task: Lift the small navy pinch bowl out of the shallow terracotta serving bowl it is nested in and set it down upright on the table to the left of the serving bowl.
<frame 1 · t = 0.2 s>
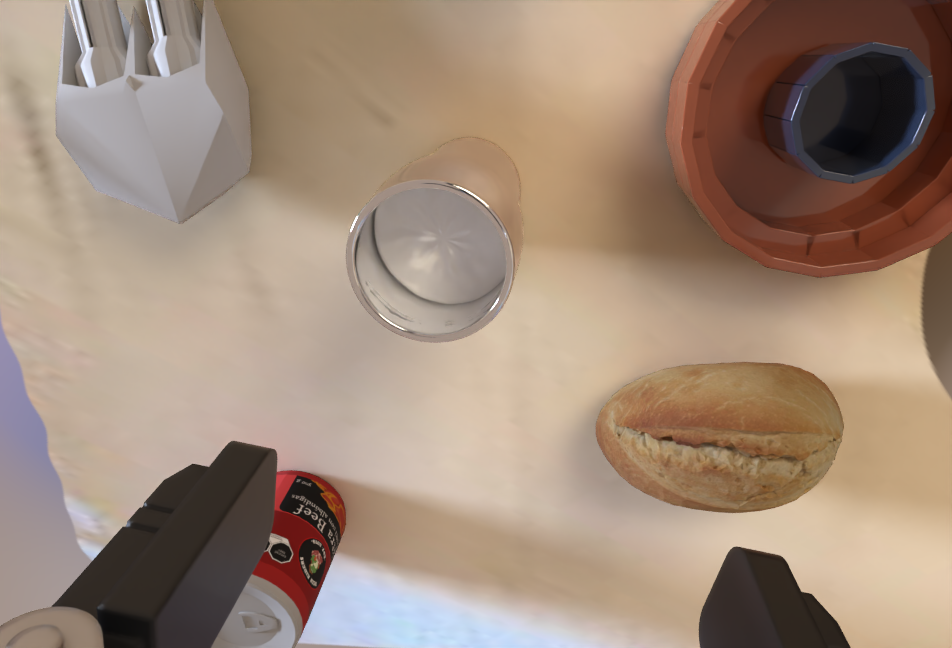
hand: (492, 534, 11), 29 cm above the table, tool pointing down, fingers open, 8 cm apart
serving bowl: (818, 107, 34), on the table
pinch bowl: (821, 108, 33), resting on serving bowl
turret: (163, 40, 36), on the table
canned food: (300, 505, 49), on the table
bread roll: (705, 400, 42), on the table
beer glass: (470, 188, 38), on the table
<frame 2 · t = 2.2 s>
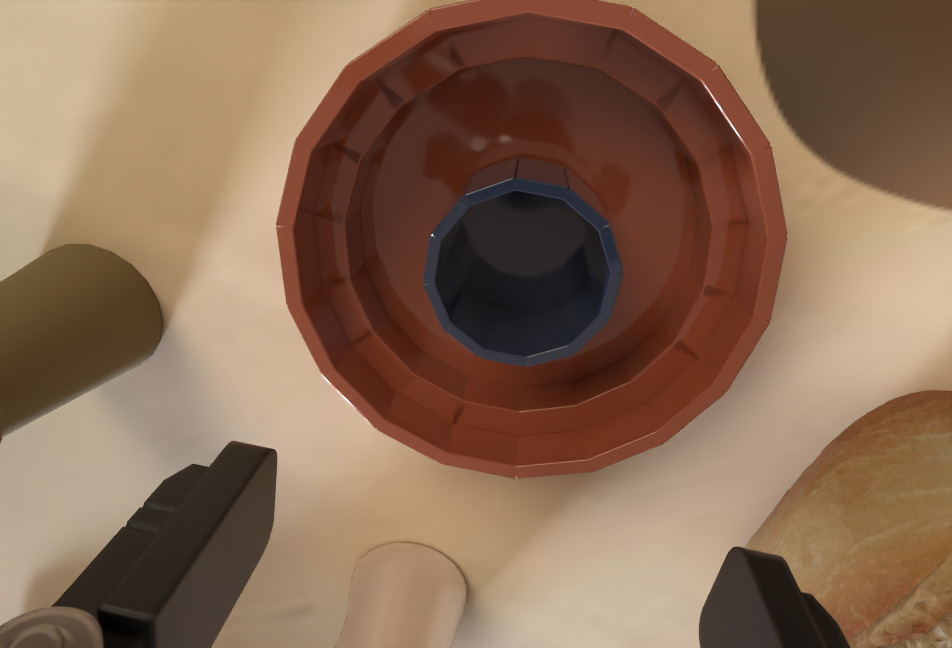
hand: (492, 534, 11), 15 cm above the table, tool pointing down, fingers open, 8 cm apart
serving bowl: (524, 235, 24), on the table
pinch bowl: (524, 239, 24), resting on serving bowl
cork: (99, 307, 28), on the table
bread roll: (837, 502, 28), on the table
beer glass: (410, 583, 33), on the table
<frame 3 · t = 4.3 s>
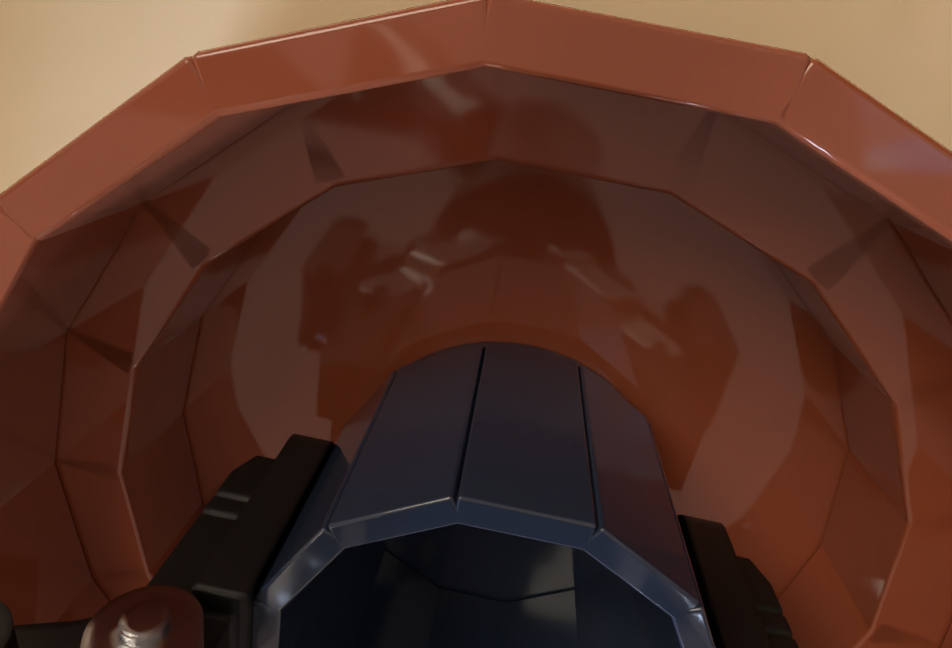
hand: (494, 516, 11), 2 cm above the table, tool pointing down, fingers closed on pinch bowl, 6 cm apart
serving bowl: (501, 461, 13), on the table
pinch bowl: (499, 476, 12), point 1 cm above the table, touching gripper, serving bowl
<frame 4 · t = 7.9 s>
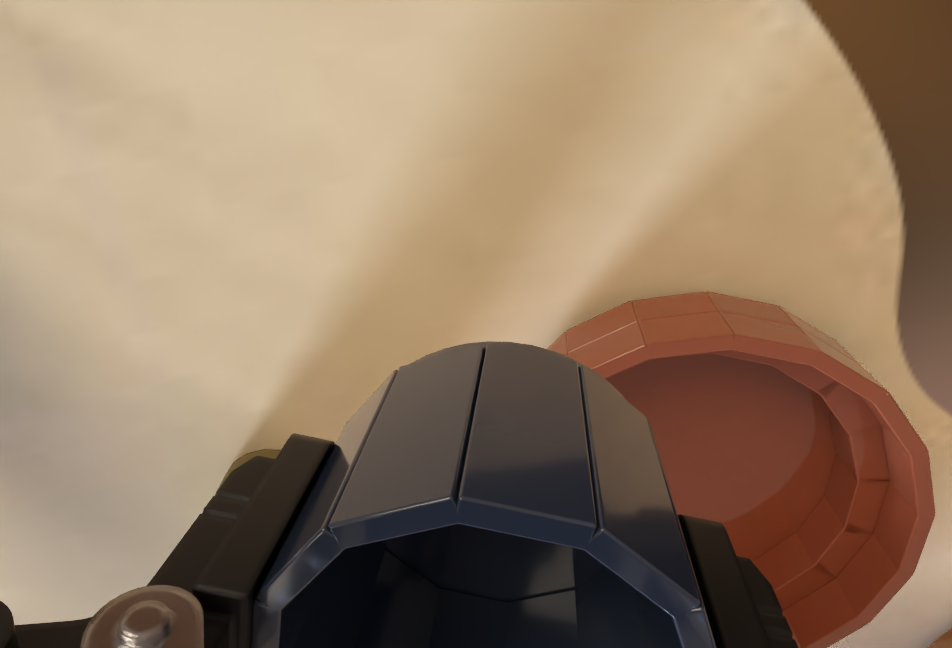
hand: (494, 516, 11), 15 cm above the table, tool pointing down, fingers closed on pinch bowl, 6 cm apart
serving bowl: (676, 458, 28), on the table
pinch bowl: (499, 476, 12), point 14 cm above the table, touching gripper
cork: (283, 497, 31), on the table
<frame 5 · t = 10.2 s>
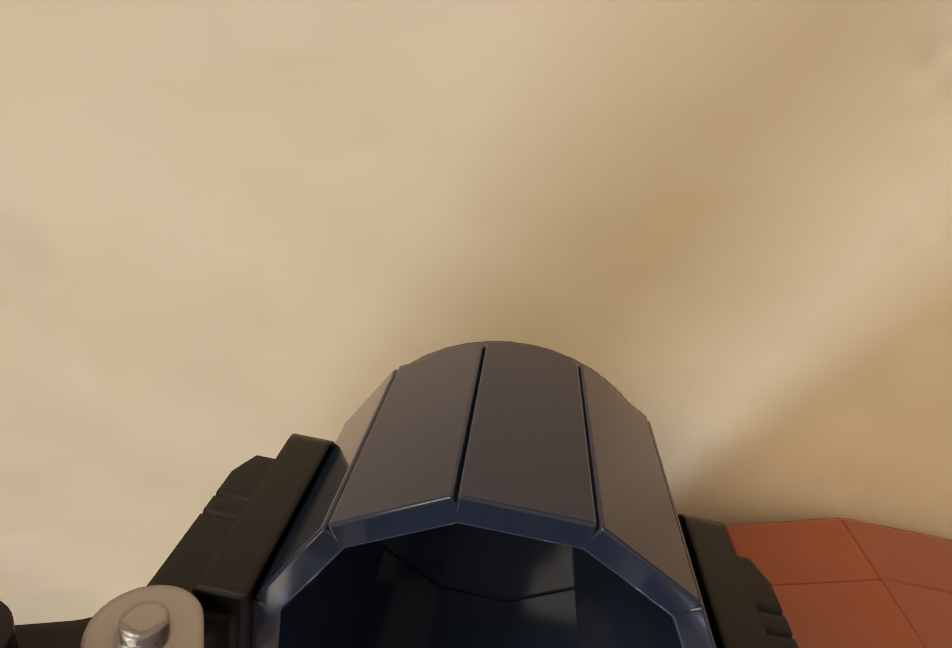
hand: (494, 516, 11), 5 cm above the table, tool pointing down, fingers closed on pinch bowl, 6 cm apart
pinch bowl: (499, 476, 12), point 4 cm above the table, touching gripper
when the fingers open (1 cm above the table, at t = 11.7 s): pinch bowl stays where it is, on the table.
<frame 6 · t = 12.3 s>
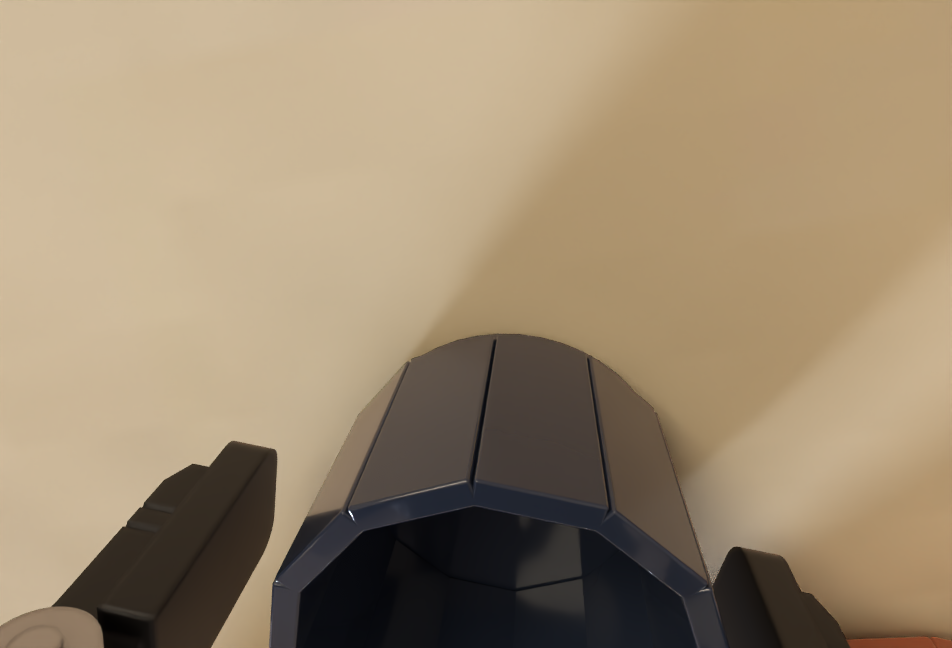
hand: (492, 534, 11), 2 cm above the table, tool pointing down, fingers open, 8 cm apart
pinch bowl: (508, 467, 13), on the table
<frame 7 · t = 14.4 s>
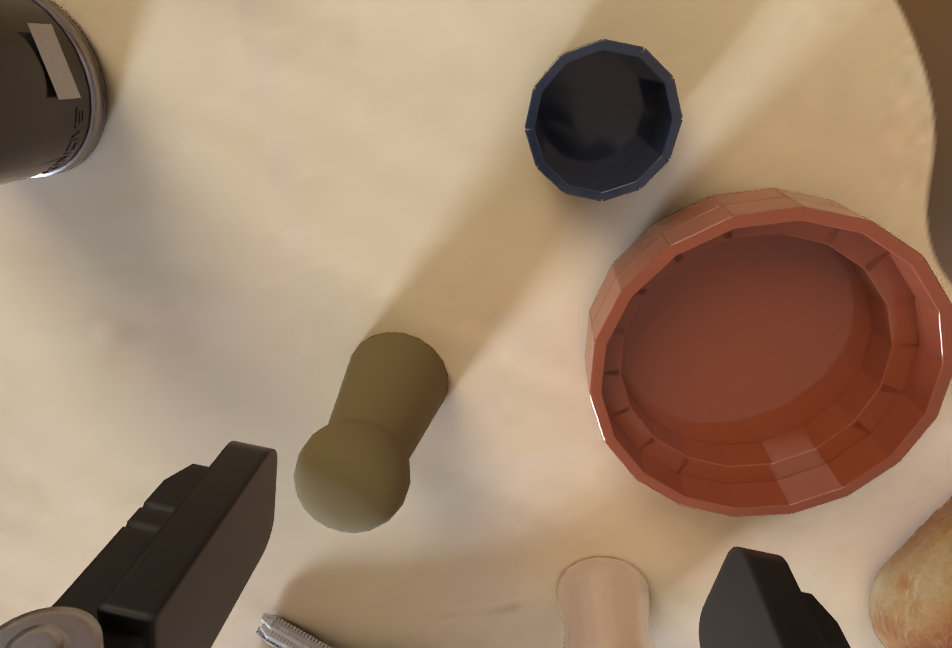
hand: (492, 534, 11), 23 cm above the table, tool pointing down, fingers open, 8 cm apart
serving bowl: (737, 338, 33), on the table
pinch bowl: (594, 114, 30), on the table
cork: (398, 377, 37), on the table
bread roll: (950, 535, 37), on the table
beer glass: (602, 588, 42), on the table
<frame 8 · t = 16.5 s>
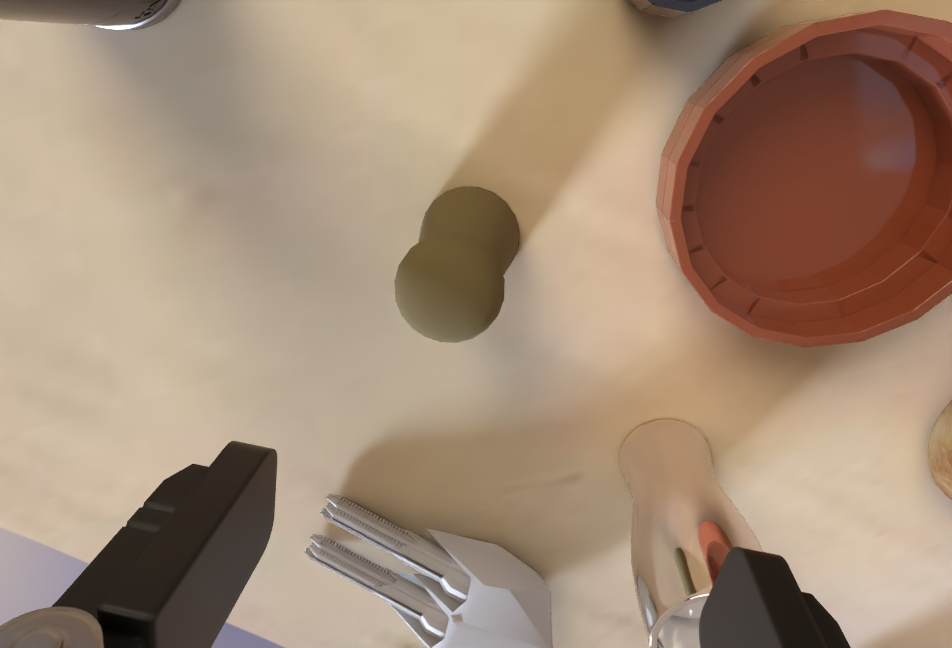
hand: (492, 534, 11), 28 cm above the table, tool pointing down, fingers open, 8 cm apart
serving bowl: (804, 179, 35), on the table
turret: (437, 562, 49), on the table
cork: (470, 235, 38), on the table
beer glass: (663, 454, 43), on the table
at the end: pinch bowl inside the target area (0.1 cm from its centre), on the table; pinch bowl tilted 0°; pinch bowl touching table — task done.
